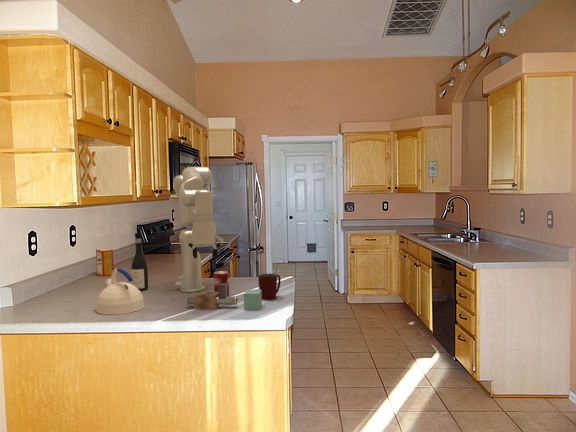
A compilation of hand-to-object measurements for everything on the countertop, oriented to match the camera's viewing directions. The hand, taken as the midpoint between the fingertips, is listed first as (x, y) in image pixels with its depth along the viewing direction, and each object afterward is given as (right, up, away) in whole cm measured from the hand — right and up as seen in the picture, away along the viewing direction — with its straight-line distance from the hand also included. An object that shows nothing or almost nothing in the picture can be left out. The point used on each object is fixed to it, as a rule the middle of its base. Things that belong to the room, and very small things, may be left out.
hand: (205, 257), depth 199 cm
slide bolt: (+3, -21, +1) cm, 21 cm away
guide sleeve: (+1, -22, +1) cm, 22 cm away
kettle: (-38, -23, +3) cm, 45 cm away
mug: (+28, -21, +16) cm, 39 cm away
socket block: (+21, -22, 0) cm, 30 cm away
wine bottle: (-41, -21, +39) cm, 60 cm away
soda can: (+4, -21, +20) cm, 29 cm away
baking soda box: (-77, -18, +82) cm, 114 cm away
